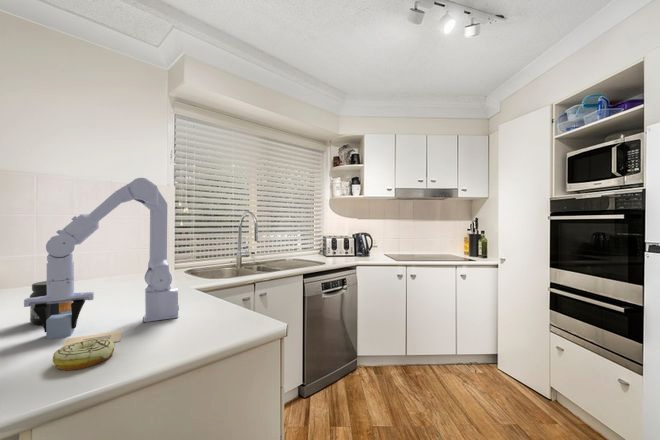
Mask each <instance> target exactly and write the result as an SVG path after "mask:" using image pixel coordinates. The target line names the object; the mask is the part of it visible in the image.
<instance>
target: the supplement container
mask: <svg viewBox="0 0 660 440" xmlns="http://www.w3.org/2000/svg"><path fill="white" fill-rule="evenodd" d="M31 291H32V292H31V294H30V295H29V298H33V297H41V296H47V280H44V281H38V282H34V283H32V284H31ZM67 300H69V299H67ZM72 303H73V302H63V303H53V304H51V307H50V316H51V315H59V314H68V313H72V311H71V304H72ZM29 308H30V309H29V313H30V314H29V322H30V323H31V324H32V325H36V326H37V325H38V326H39V325H40V326H43V324H42V322H41V320H40V318H39V317H38V315H37V314H36V313H35V312H34V308H35V305H34V306H29Z"/></svg>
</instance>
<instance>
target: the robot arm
mask: <svg viewBox="0 0 660 440" xmlns="http://www.w3.org/2000/svg"><path fill="white" fill-rule="evenodd" d="M133 200H134V201H135V202H139V203H140V204H142V205H144V207H146V208H147V209H148V210H149V260H148V262H147V263H148V264H147V270H146V272H145V274H144V281H145V283H146V285H147V286H146V287H145V289H144V293H145V295H144V296H145V298H144V299H145V300H144V301H145V302H144V303H145V309H144V313H145V314H144V315H143V322H144V323H147V322H148V323H149V322H155V321H157V322H158V321H161V320H168V319H177V318H179V311H180V304H179V292H178V291H179V290H178V288H177V287H174V288H173V287H171V285H172V281H173V276H172V274H171V273H170V266H169V261H168V202H167V201H166V198H164V196H163V195H162V193H161V192H160V190H159V188H158V185H156V183H154V182H153V181H151V180H150V179H148V178H146V177H137V178H134V179H133V180H132V181H130V182H129V183H126V184H125V185H124V186H122V187H120V188H118V189H117V190H115V191H114V192H113V193H112V194H111V195H109V196H108V197H107V198H106V199H105V200H104V201H103V202H101V204H99V205H98V206H97V207H96V208H95V209H94V210H92V211H91V212H90V213H85V214H84V213H83V214H82V213H80V214H79V215H77V216H76V215H74V216H73V217H72V218H71V220H72V221H71V222H69V223H68V224H67V225H66V226H64V227H63V228H62V229H58V230H57V231H56V234H57V235H53V236H51V237H50V239H49V240H48V241H47V242H46V244H45V250H46V252H47V253H48V254H47V256H46V261H47V263H46V281H47V296H41V297H33V298H30V297H27V298H24V300H23V308H27V307H28V308H30V306H34V305H35V308H34V312H35V313H36V314H37V315H38V317H39V318H40V320H41V322H42V324H43V325H42V326H43V331H44V333H46V320H47V319H48V318H49V317H50V307H51V304H53V303H63V302H73V303H72V304H71V311H72V323H71V326H72V329H74V330H75V329H76V327H77V324H78V319H79V316H80V314H81V310H82V309H83V307H84V304H85V302H86V301H93V300H94V299H95V292H94V291H89V292H75V262H74V261H73V252H74V250H75V246H76V245H81V244H82V243H83V242H85V240H87V239H88V238H89V237H90V236H91V235H93V234H94V233H95V232H96V231H97V230H98V229H99V227H100V226H99V225H100V224H99V222H100V221H101V220H102V219H104V218H105V217H106V216H107V215H108V214H110V213H111V212H112V211H113V210H115V209H116V208H117V207H118V206H120V205H121V204H123V203H127V202H130V201H133ZM67 299H69V300H67Z"/></svg>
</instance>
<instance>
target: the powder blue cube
mask: <svg viewBox="0 0 660 440" xmlns="http://www.w3.org/2000/svg"><path fill="white" fill-rule="evenodd" d="M71 323H72V313H68V314H59V315H51V316H50V317H49V318H48V319H47V320H46V332H45V333H46V334H45V335H46V336H45V337H46V338H45V339H46V340H51V339H59V338H66V337H71V336H72V334H73V333H75V328H74V329H72V326H71Z"/></svg>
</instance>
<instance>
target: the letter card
mask: <svg viewBox="0 0 660 440" xmlns="http://www.w3.org/2000/svg"><path fill="white" fill-rule="evenodd" d="M122 335H123V330H117V331H116V330H115V331H111V332H110V331H108V332H102V333H95V334H90V335H82V336H75V337H70V338H67V339H65V340H66V341H64V343H63V345H62V346H61V347H60V348H62V347H64V346H67V345H70V344H73V343H77V342H82V341H88V340H98V339H107V340H111V341H112V342H113V343H114V344H115V343H118V342H119V343H120V342H121V338H122Z"/></svg>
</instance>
